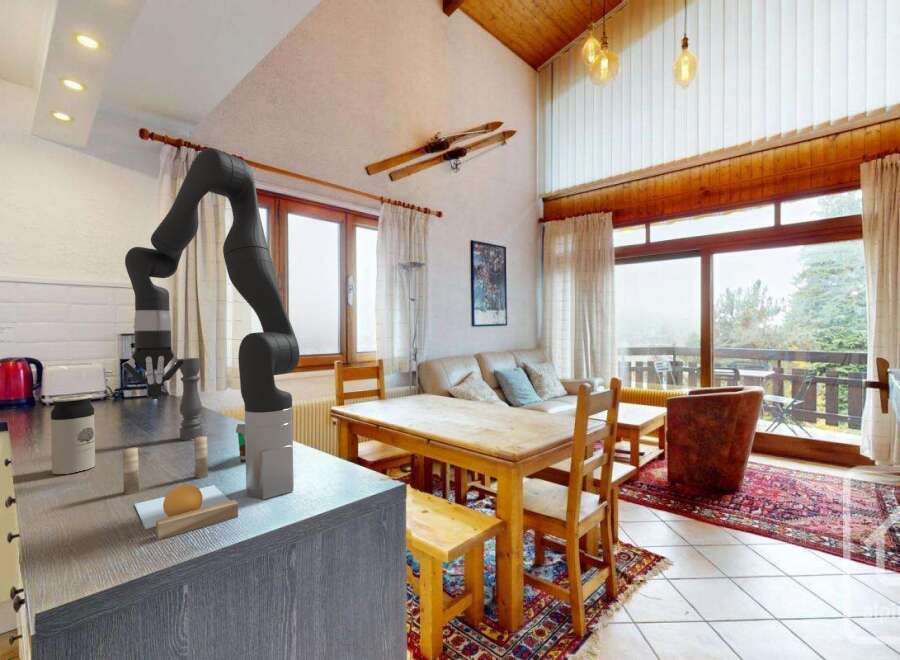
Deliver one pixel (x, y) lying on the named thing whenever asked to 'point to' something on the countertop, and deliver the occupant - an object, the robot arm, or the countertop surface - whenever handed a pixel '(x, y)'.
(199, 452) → the right post
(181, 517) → the wall
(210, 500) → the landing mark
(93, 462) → the travel mug
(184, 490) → the ball
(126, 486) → the left post
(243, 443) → the food container
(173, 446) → the countertop surface
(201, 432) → the candle holder
